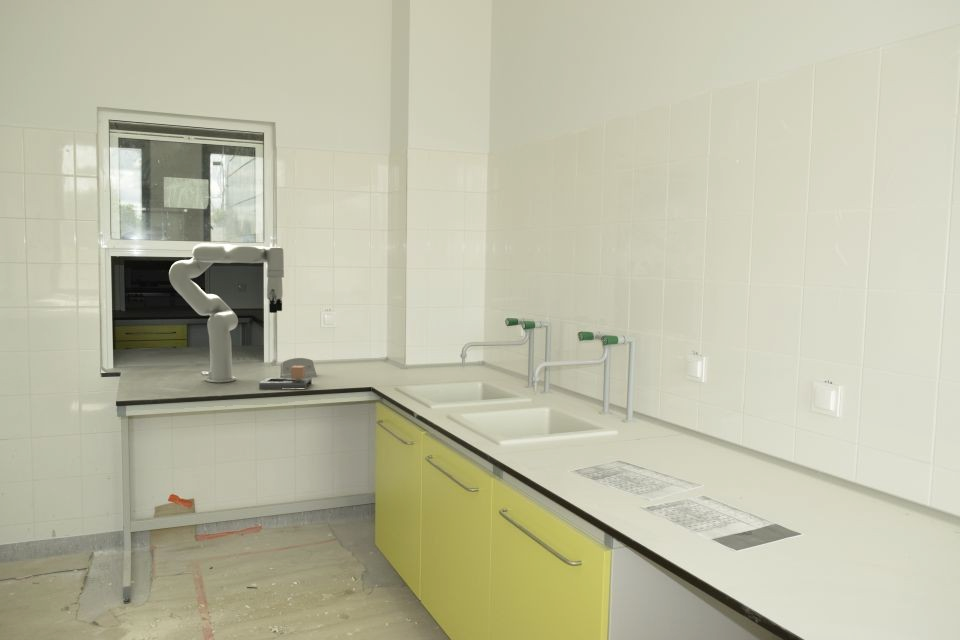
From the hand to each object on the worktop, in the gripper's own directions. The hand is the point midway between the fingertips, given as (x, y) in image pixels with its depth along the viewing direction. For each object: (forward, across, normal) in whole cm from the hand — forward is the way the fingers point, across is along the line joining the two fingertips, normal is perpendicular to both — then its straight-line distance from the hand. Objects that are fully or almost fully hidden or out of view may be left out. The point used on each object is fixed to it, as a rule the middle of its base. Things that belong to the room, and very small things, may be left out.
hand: (275, 311), depth 329 cm
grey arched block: (+33, -14, +6) cm, 36 cm away
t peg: (+32, +12, +12) cm, 37 cm away
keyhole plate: (+32, +12, +7) cm, 35 cm away
